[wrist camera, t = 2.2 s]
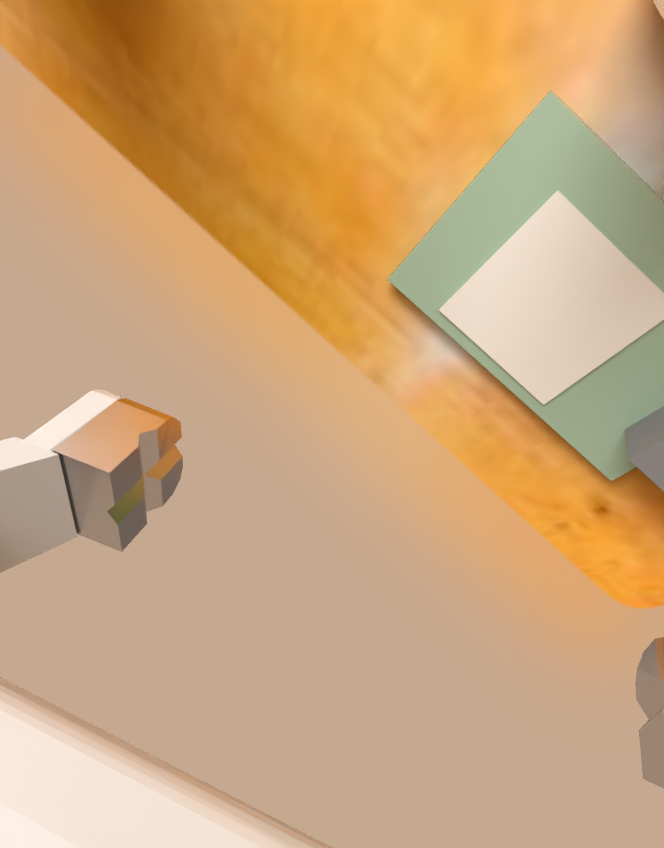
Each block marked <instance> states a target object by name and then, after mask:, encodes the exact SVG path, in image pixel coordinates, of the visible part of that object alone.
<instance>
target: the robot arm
mask: <svg viewBox="0 0 664 848" xmlns="http://www.w3.org/2000/svg"><path fill="white" fill-rule="evenodd" d="M181 436H182V435H181V425H180V422H179V421H178V420H177V419H175V418H174V417H171V416H169V415H166V414H164V413H161V412H159V411H157V410H154V409H152V408H149V407H146V406H144V405H141V404H139V403H137V402H134V401H132V400H129V399H127V398H122V397H120V396H118V395H115V394H113V393H110V392H108V391H105V390H103V389H98V390H93V391H91V392H89V393H88V394H86V395H85V396H83V397H82V398H81V399H79V400H78V401H77V402H75V403H74V404H72V405H71V406H70V407H68V408H67V409H65V410H64V411H63V412H61V413H60V414H59V415H57V416H56V417H54V418H53V419H52V420H50V421H49V422H48V423H46V424H45V425H43V426H42V427H41V428H39V429H38V430H36V431H35V432H34V433H32V434H31V435H30V436H28V437H27V438H26V439H24V440H22V439H20V438H17V437H13V438H9V439H5V440H1V441H0V573H1V572H3V571H5V570H7V569H9V568H11V567H14V566H16V565H18V564H20V563H22V562H24V561H27V560H29V559H31V558H33V557H35V556H37V555H40V554H42V553H44V552H46V551H48V550H50V549H52V548H55V547H57V546H59V545H61V544H63V543H65V542H67V541H70V540H71V539H74V538H76V537H77V534H79V535H82V536H84V537H86V538H89V539H91V540H94V541H97V542H99V543H101V544H104V545H106V546H109V547H112V548H114V549H117V550H119V551H123V550H124V549H125V548H126V546H127V545H128V544H129V543H130V542H131V541H132V540H133V539H134V538H135V536H136V535H137V534H138V533H139V532H140V531H141V530H142V529H143V528H144V526H145V525H146V524H147V511H150V510H153V509H156V508H158V507H161V506H163V505H164V504H165V503H166V502H167V500H168V499H169V498H170V497H171V496H172V494H173V492H174V491H175V489H176V487H177V485H178V483H179V480H180V478H181V473H182V468H183V459H182V455H181V454H180V452H179V450H178V449H177V447H176V446H175V444H176V442H177V441H178V440H179V439H180V438H181ZM636 698H637V701H638V703H639V704H640V706H641V707H642V709H643V711H644V712H645V714H646V715H647V717H648V719H649V720H648V721H647V723H646V724H645V725H644V726H643V727H642V728H641V729H640V730H639V736H640V747H641V758H642V770H643V779H645V780H647V781H649V782H651V783H654V784H656V785H658V786H660V787H662V788H664V637H663V638H657V639H654V641H653V642H652V643H651V644H650V645H649V647H648V648H647V649H646V650H645V651H644V653H643V655H642V658H641V660H640V663H639V666H638V668H637V676H636ZM0 848H332V847H330V846H328V845H326V844H325V843H323V842H321V841H319V840H317V839H314V838H313V837H311V836H309V835H307V834H305V833H303V832H301V831H299V830H297V829H295V828H293V827H291V826H289V825H287V824H286V823H284V822H282V821H280V820H278V819H276V818H274V817H272V816H270V815H268V814H266V813H264V812H262V811H260V810H258V809H256V808H254V807H252V806H251V805H249V804H247V803H245V802H243V801H241V800H239V799H237V798H235V797H232V796H231V795H229V794H227V793H225V792H223V791H221V790H219V789H217V788H215V787H213V786H212V785H209V784H208V783H206V782H204V781H202V780H200V779H198V778H196V777H194V776H192V775H190V774H188V773H186V772H184V771H182V770H180V769H178V768H176V767H175V766H173V765H171V764H169V763H167V762H165V761H163V760H161V759H159V758H157V757H155V756H153V755H151V754H149V753H147V752H145V751H143V750H141V749H139V748H138V747H135V746H134V745H132V744H130V743H128V742H126V741H124V740H122V739H120V738H118V737H116V736H114V735H112V734H110V733H108V732H106V731H104V730H102V729H101V728H99V727H97V726H95V725H93V724H91V723H89V722H87V721H85V720H83V719H81V718H79V717H77V716H75V715H73V714H71V713H69V712H67V711H65V710H63V709H61V708H60V707H58V706H56V705H54V704H52V703H50V702H48V701H46V700H44V699H42V698H40V697H38V696H36V695H34V694H32V693H30V692H28V691H26V690H24V689H23V688H21V687H19V686H17V685H15V684H13V683H11V682H9V681H7V680H5V679H3V678H1V677H0Z"/></svg>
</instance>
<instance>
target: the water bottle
mask: <svg viewBox="0 0 664 848" xmlns="http://www.w3.org/2000/svg"><path fill="white" fill-rule="evenodd" d="M653 1H654V4H655V6H656V7H657V9H658V11H659V13H660V15H661V16H662V18H663V19H664V0H653Z"/></svg>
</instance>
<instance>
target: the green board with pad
mask: <svg viewBox="0 0 664 848" xmlns="http://www.w3.org/2000/svg"><path fill="white" fill-rule="evenodd" d="M388 281H389V282H390V283H392V284H393V285H394V286H395V287H396V288H397V289H398V290H399V291H400V292H402V293H403V294H404V295H405V296H406V297H407V298H408V299H409V300H410V301H412V302H413V303H414V304H415V305H416V306H417V307H418V308H419V309H420V310H422V311H423V312H424V313H425V314H426V315H427V316H428V317H429V318H430V319H432V320H433V321H434V322H435V323H436V324H437V325H438V326H439V327H440V328H442V329H443V330H444V331H445V332H446V333H447V334H448V335H449V336H450V337H451V338H453V339H454V340H455V341H456V342H457V343H458V344H459V345H460V346H461V347H463V348H464V349H465V350H466V351H467V352H468V353H469V354H470V355H471V356H473V357H474V358H475V359H476V360H477V361H478V362H479V363H480V364H481V365H483V366H484V367H485V368H486V369H487V370H488V371H489V372H490V373H491V374H493V375H494V376H495V377H496V378H497V379H498V380H499V381H500V382H501V383H503V384H504V385H505V386H506V387H507V388H508V389H509V390H510V391H511V392H513V393H514V394H515V395H516V396H517V397H518V398H519V399H520V400H521V401H523V402H524V403H525V404H526V405H527V406H528V407H529V408H530V409H531V410H532V411H534V412H535V413H536V414H537V415H538V416H539V417H540V418H541V419H542V420H544V421H545V422H546V423H547V424H548V425H549V426H550V427H551V428H552V429H554V430H555V431H556V432H557V433H558V434H559V435H560V436H561V437H562V438H564V439H565V440H566V441H567V442H568V443H569V444H570V445H571V446H572V447H574V448H575V449H576V450H577V451H578V452H579V453H580V454H581V455H582V456H584V457H585V458H586V459H587V460H588V461H589V462H590V463H591V464H592V465H594V466H595V467H596V468H597V469H598V470H599V471H600V472H601V473H602V474H604V475H605V476H606V477H607V478H608V479H609V480H610V481H612V480H614V479H616V478H618V477H620V476H622V475H623V474H625V473H627V472H629V471H631V470H633V469H634V468H636V467H637V468H638V469H639V470H641V471H642V472H643V473H644V474H645V475H646V476H647V477H648V478H649V479H650V480H651V481H653V482H654V483H655V484H656V485H657V486H658V487H659V488H660V489H661V490H662V491H664V201H663V200H662V199H661V198H660V197H659V196H658V195H657V194H656V193H655V192H654V191H653V190H652V189H651V188H650V187H649V186H648V185H647V184H646V183H645V182H644V181H642V180H641V179H640V178H639V177H638V176H637V175H636V174H635V173H634V172H633V171H632V170H631V169H630V168H629V167H628V166H627V165H626V164H625V163H624V162H623V161H622V160H621V159H620V158H619V157H618V156H617V155H616V154H615V153H614V152H613V151H612V150H611V149H610V148H609V147H608V146H607V145H606V144H605V143H604V142H603V141H602V140H601V139H600V138H599V137H598V136H597V135H596V134H595V133H594V132H593V131H592V130H591V129H590V128H589V127H588V126H587V125H586V124H585V123H584V122H583V121H582V120H581V119H580V118H579V117H578V116H577V115H576V114H575V113H574V112H573V111H572V110H571V109H570V108H569V107H568V106H567V105H566V104H565V103H564V102H563V101H562V100H561V99H560V98H559V97H558V96H557V95H556V94H555V93H554V92H553V91H552V90H551V91H550V92H549V93H548V94H547V95H546V96H545V98H544V99H543V100H542V101H541V102H540V103H539V105H538V106H537V107H536V108H535V109H534V110H533V111H532V113H531V114H530V115H529V116H528V117H527V118H526V120H525V121H524V122H523V123H522V124H521V125H520V127H519V128H518V129H517V130H516V131H515V132H514V133H513V135H512V136H511V137H510V138H509V139H508V140H507V142H506V143H505V144H504V145H503V146H502V147H501V149H500V150H499V151H498V152H497V153H496V154H495V155H494V157H493V158H492V159H491V160H490V161H489V162H488V164H487V165H486V166H485V167H484V168H483V169H482V171H481V172H480V173H479V174H478V175H477V176H476V177H475V179H474V180H473V181H472V182H471V183H470V184H469V186H468V187H467V188H466V189H465V190H464V191H463V193H462V194H461V195H460V196H459V197H458V198H457V200H456V201H455V202H454V203H453V204H452V205H451V206H450V208H449V209H448V210H447V211H446V212H445V213H444V215H443V216H442V217H441V218H440V219H439V220H438V222H437V223H436V224H435V225H434V226H433V227H432V228H431V230H430V231H429V232H428V233H427V234H426V235H425V237H424V238H423V239H422V240H421V241H420V242H419V244H418V245H417V246H416V247H415V248H414V249H413V250H412V252H411V253H410V254H409V255H408V256H407V257H406V259H405V260H404V261H403V262H402V263H401V264H400V266H399V267H398V268H397V269H396V270H395V271H394V272H393V274H392V275H391V276H390V277H389V279H388Z"/></svg>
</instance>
